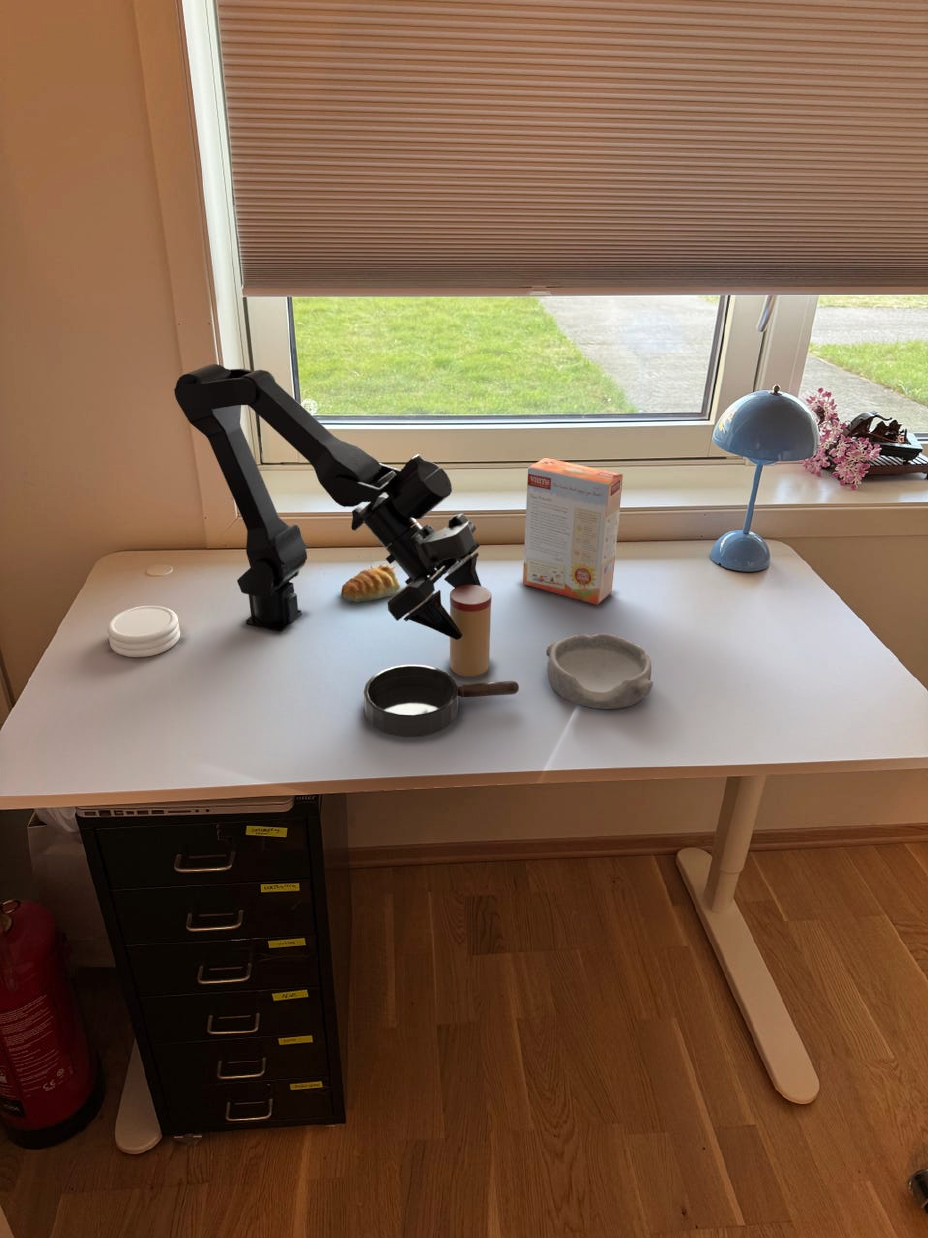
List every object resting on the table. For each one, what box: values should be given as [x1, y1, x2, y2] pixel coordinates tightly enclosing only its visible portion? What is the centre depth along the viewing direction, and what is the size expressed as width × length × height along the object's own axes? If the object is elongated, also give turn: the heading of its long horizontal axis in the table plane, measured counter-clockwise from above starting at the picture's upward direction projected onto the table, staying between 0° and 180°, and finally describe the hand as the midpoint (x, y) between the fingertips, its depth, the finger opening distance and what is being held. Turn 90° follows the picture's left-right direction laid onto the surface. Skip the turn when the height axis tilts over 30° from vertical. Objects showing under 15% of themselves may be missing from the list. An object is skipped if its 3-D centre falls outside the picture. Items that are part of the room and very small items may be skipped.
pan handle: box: [457, 680, 520, 699], centre depth 123 cm, size 8×2×2 cm, turn 98°
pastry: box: [340, 564, 401, 603], centre depth 151 cm, size 9×7×4 cm
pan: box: [363, 664, 459, 738], centre depth 123 cm, size 12×12×4 cm
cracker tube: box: [449, 585, 493, 677], centre depth 130 cm, size 6×6×12 cm
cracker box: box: [522, 457, 624, 606], centre depth 149 cm, size 14×6×21 cm, turn 58°
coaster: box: [106, 605, 181, 658], centre depth 137 cm, size 10×10×4 cm
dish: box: [546, 632, 654, 710], centre depth 128 cm, size 14×14×5 cm
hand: (473, 622), depth 129 cm, fingers open, 9 cm apart
